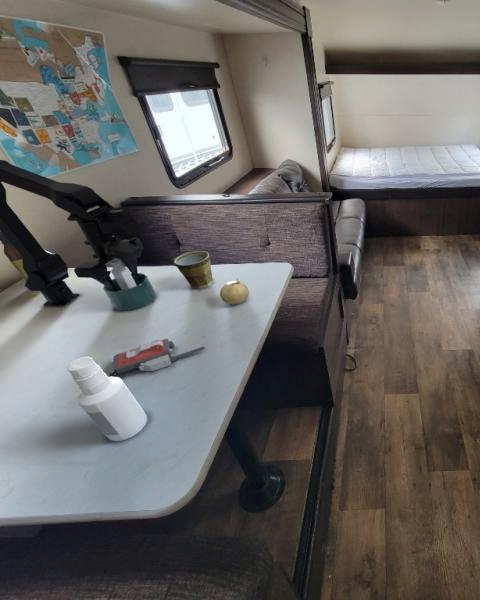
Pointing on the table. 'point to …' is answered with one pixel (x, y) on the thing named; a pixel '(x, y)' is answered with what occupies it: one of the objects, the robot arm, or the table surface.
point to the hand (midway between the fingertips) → (125, 282)
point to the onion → (234, 292)
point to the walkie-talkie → (147, 358)
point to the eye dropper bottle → (122, 275)
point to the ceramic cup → (195, 268)
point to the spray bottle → (107, 400)
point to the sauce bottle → (13, 255)
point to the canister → (132, 294)
